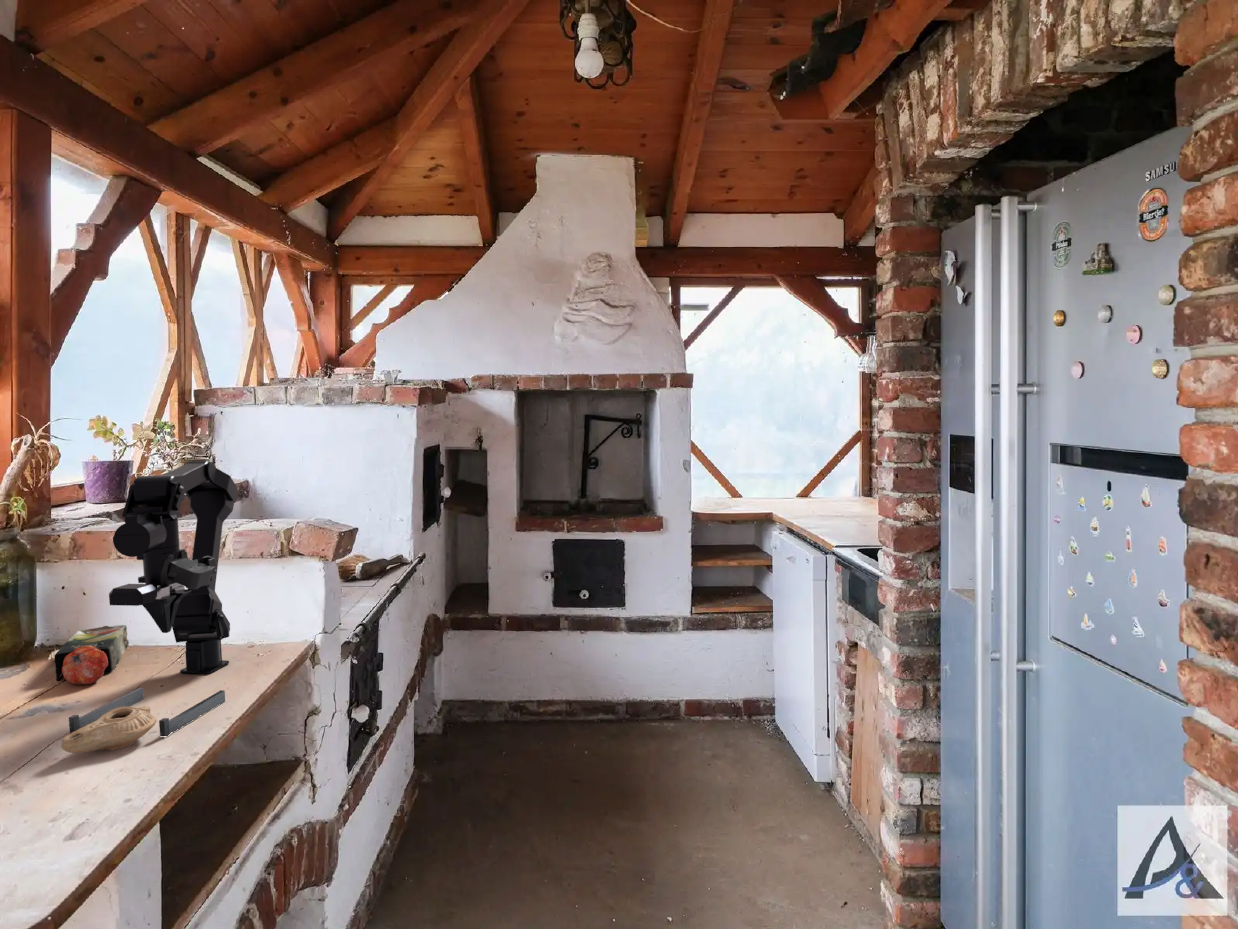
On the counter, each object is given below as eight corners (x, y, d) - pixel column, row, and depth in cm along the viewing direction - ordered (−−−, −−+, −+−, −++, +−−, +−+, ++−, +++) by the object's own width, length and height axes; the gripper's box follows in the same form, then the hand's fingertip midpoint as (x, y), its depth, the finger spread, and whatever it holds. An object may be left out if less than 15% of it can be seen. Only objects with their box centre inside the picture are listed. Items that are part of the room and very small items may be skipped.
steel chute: (139, 698, 137) (138, 683, 137) (225, 701, 135) (224, 686, 135) (69, 734, 123) (68, 717, 122) (165, 738, 120) (164, 720, 120)
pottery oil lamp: (47, 757, 114) (56, 707, 117) (134, 756, 123) (141, 710, 126) (71, 749, 109) (80, 698, 112) (160, 749, 118) (166, 701, 121)
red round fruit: (74, 689, 149) (39, 673, 141) (94, 653, 153) (61, 635, 144) (109, 695, 148) (76, 679, 140) (128, 658, 152) (96, 640, 144)
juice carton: (76, 653, 165) (75, 625, 165) (130, 647, 169) (128, 620, 169) (53, 684, 147) (51, 653, 147) (113, 676, 151) (112, 646, 151)
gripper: (165, 556, 125) (171, 649, 127) (235, 537, 144) (240, 618, 145) (103, 556, 127) (109, 648, 128) (181, 537, 145) (186, 617, 146)
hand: (166, 632), depth 137 cm, fingers closed
